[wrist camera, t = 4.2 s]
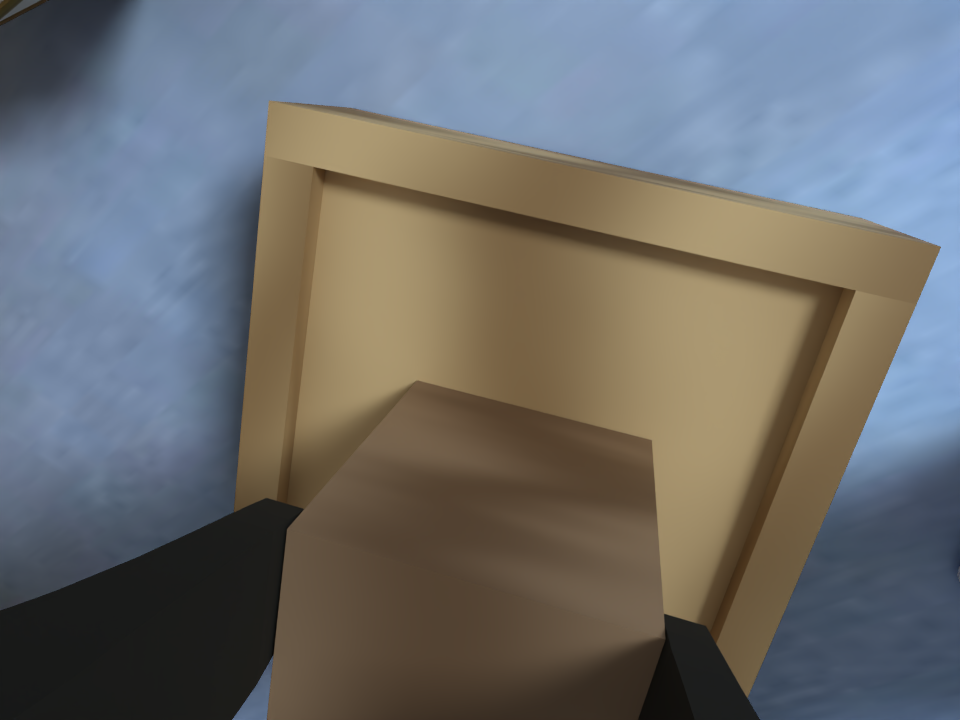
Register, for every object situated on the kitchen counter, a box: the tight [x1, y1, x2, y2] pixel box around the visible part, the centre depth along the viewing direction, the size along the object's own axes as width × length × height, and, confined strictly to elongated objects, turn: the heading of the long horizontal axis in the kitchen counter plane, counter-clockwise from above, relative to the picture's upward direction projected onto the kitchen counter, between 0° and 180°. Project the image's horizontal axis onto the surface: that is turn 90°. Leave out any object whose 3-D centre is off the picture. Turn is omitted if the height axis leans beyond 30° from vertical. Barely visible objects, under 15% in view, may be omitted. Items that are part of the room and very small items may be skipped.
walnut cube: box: [267, 380, 666, 720], centre depth 12 cm, size 5×5×6 cm
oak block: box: [234, 101, 941, 698], centre depth 16 cm, size 12×12×4 cm
